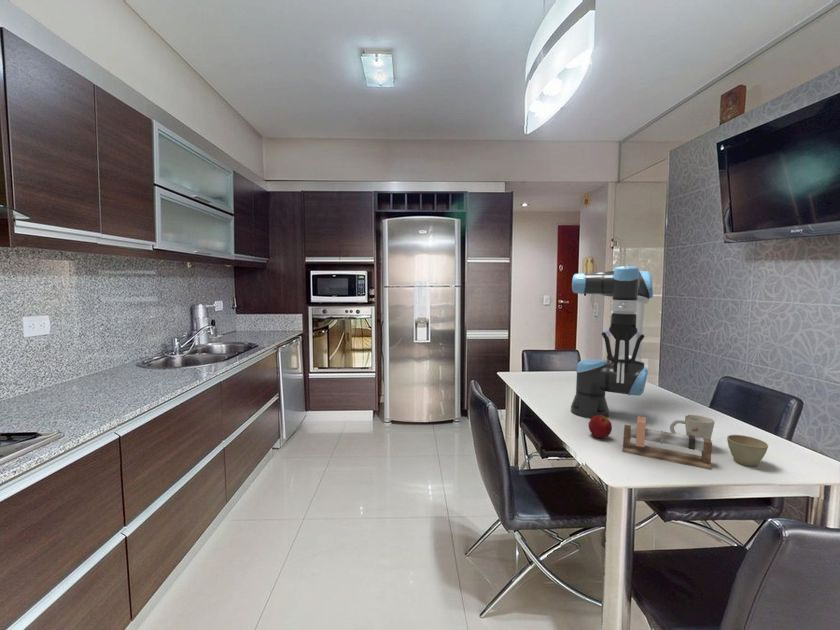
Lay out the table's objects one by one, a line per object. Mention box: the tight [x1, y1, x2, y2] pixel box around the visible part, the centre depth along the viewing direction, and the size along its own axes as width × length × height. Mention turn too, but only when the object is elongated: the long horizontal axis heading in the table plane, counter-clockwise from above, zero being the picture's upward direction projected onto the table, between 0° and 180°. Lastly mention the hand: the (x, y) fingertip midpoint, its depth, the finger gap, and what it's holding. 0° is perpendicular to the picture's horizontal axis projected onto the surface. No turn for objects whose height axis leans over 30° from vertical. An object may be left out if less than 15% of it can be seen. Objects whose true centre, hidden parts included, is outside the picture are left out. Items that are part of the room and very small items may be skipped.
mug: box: [669, 414, 715, 440], centre depth 138 cm, size 8×13×10 cm, turn 58°
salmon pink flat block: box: [635, 415, 647, 447], centre depth 133 cm, size 2×7×8 cm, turn 150°
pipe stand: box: [621, 424, 713, 470], centre depth 129 cm, size 24×8×8 cm, turn 60°
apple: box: [588, 415, 613, 439], centre depth 145 cm, size 8×8×8 cm
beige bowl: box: [726, 434, 769, 467], centre depth 125 cm, size 10×10×7 cm
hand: (620, 382), depth 135 cm, fingers closed
